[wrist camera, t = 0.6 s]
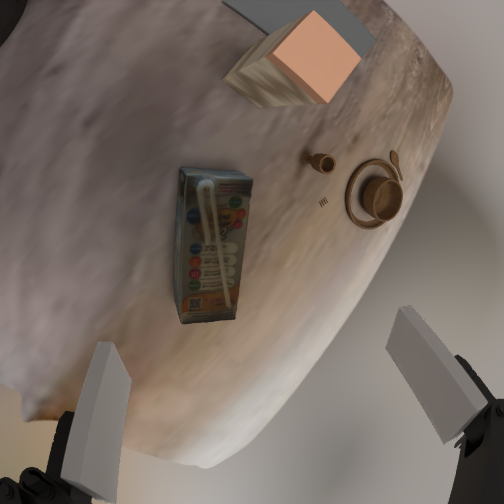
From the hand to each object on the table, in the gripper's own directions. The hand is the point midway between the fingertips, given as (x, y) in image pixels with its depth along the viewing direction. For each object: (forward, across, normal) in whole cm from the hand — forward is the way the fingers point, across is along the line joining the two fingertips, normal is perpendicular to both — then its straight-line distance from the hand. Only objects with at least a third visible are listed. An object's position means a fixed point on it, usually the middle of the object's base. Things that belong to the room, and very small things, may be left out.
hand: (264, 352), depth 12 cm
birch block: (+28, +4, +15) cm, 32 cm away
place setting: (+32, +21, +1) cm, 39 cm away
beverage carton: (+27, -4, -6) cm, 28 cm away
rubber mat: (+30, +12, +25) cm, 41 cm away
